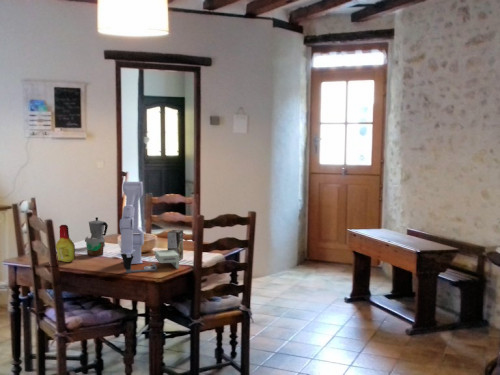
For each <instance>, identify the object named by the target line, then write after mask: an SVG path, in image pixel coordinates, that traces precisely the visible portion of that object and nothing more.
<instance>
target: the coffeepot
mask: <svg viewBox="0 0 500 375" xmlns="http://www.w3.org/2000/svg"><path fill="white" fill-rule="evenodd" d="M88 225H89V226H88V227H89V232H90V234H91V236H90V238H98V239H101V238H104V236H106V235H107V231H108V226H109V225H108V224H107V222H106V221H102V220H99V217H95V220H91V221H88ZM104 247H106V244H105V242H104Z"/></svg>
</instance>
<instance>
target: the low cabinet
mask: <svg viewBox="0 0 500 375" xmlns="http://www.w3.org/2000/svg"><path fill="white" fill-rule="evenodd" d="M154 258H155V259H156V261H157V262H158V263H159V264H164V263H167V264H168V263H170V264H171V265H172V266H173V268H175V269H180V261H179V255H178V254H177V253H176V252H175V251H174V250H168V249H163V250H154Z"/></svg>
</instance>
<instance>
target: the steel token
mask: <svg viewBox="0 0 500 375" xmlns="http://www.w3.org/2000/svg"><path fill="white" fill-rule="evenodd" d="M145 269H154V267H153V265H145V266H143V270H145Z"/></svg>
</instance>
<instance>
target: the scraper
mask: <svg viewBox="0 0 500 375" xmlns="http://www.w3.org/2000/svg"><path fill="white" fill-rule="evenodd" d="M152 266H153V267H154V269H132V266H131V267H130V269H129V270H126V269H125V273H126V274H131V273H144V272H147V273H148V272H157V271H158V266H157V265H156V263H155V262H152Z"/></svg>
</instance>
